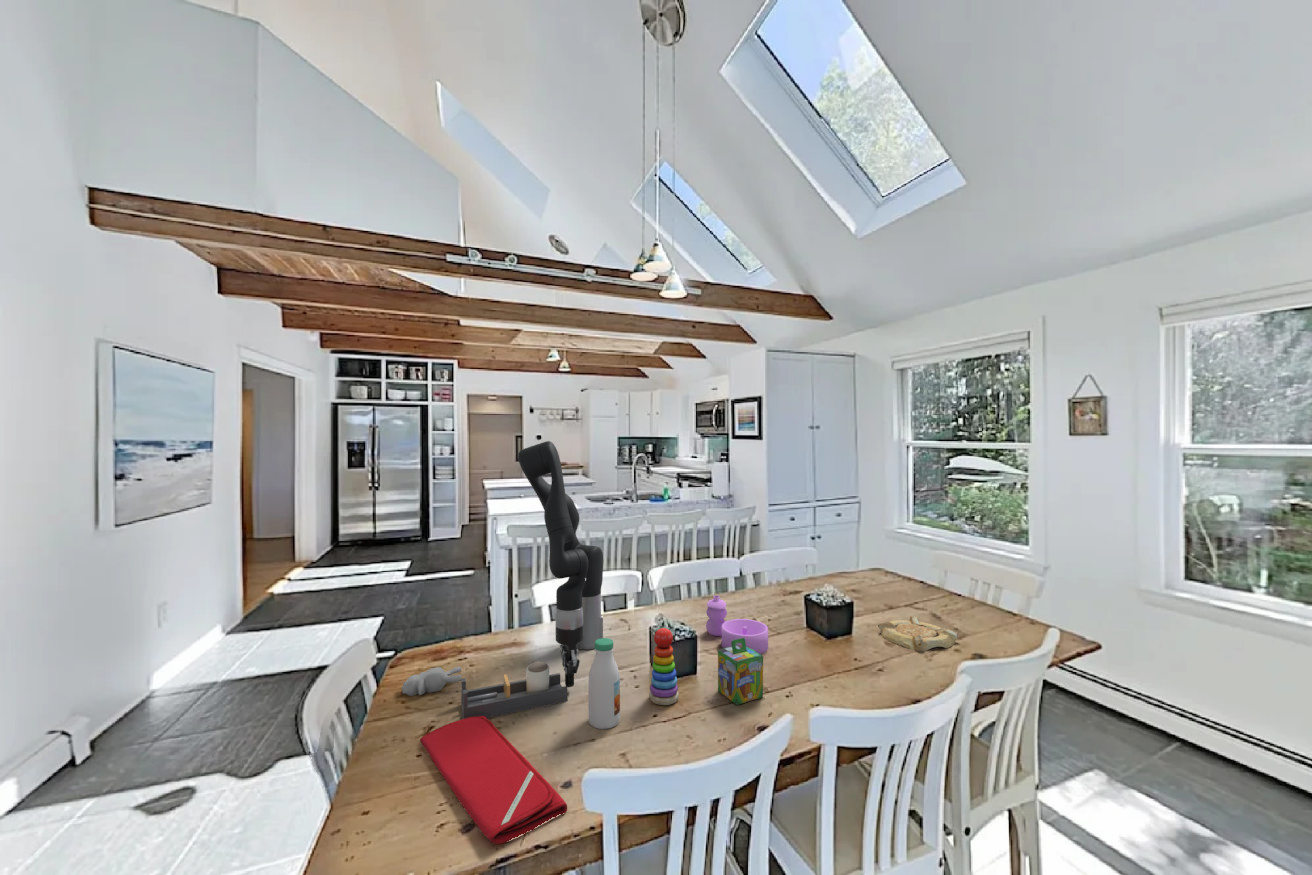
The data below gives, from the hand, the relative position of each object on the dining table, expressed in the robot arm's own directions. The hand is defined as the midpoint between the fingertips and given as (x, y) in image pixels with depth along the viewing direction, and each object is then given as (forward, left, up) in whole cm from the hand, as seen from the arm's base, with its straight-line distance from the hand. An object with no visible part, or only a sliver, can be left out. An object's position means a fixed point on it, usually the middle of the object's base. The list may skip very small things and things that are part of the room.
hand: (569, 685), depth 145 cm
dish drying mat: (+24, +27, -2) cm, 37 cm away
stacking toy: (-22, +14, -2) cm, 26 cm away
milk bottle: (-4, +18, -2) cm, 19 cm away
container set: (-60, -12, -2) cm, 61 cm away
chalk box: (-42, +20, -2) cm, 47 cm away
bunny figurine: (+35, -17, -2) cm, 39 cm away
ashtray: (-119, +11, -2) cm, 120 cm away
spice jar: (+9, 0, -1) cm, 9 cm away
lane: (+15, 0, -2) cm, 15 cm away
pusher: (+22, 0, 0) cm, 22 cm away
